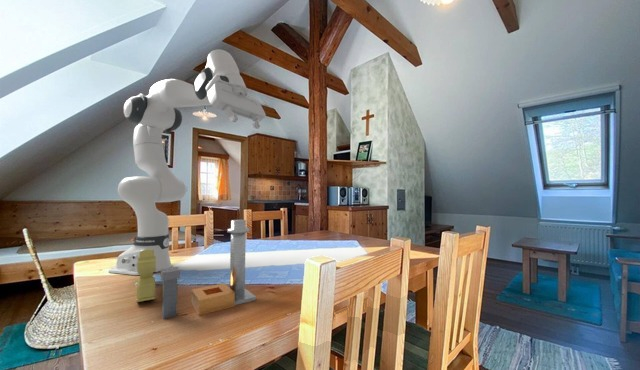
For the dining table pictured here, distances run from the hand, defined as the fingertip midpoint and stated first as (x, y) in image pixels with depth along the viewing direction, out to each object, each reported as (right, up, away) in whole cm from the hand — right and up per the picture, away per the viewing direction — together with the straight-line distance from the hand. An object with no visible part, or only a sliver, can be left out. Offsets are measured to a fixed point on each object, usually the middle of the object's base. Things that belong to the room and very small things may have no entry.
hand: (246, 124), depth 84 cm
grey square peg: (-17, -54, -14) cm, 58 cm away
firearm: (-33, -54, +2) cm, 64 cm away
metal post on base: (-5, -54, -5) cm, 55 cm away
